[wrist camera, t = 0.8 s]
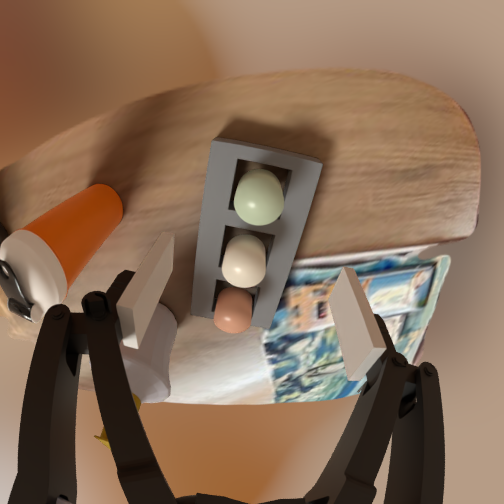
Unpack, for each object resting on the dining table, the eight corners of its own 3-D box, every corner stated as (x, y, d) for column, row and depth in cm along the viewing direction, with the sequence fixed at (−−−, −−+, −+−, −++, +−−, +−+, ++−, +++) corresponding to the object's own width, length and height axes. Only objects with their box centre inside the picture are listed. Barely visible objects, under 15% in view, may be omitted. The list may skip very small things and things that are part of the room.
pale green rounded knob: (234, 205, 30) (230, 220, 27) (241, 164, 28) (238, 174, 25) (275, 214, 31) (277, 229, 27) (286, 174, 28) (289, 184, 25)
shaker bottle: (125, 175, 32) (20, 256, 15) (133, 236, 36) (59, 340, 19) (74, 178, 32) (-27, 250, 15) (85, 233, 36) (6, 321, 19)
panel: (194, 301, 42) (190, 314, 39) (216, 136, 29) (211, 140, 27) (269, 315, 43) (269, 328, 40) (317, 158, 30) (323, 164, 28)
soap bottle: (130, 335, 48) (86, 445, 26) (113, 283, 41) (44, 408, 20) (192, 344, 48) (164, 469, 26) (184, 291, 41) (137, 443, 20)
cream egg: (223, 264, 35) (219, 283, 31) (229, 230, 32) (225, 247, 29) (260, 271, 35) (260, 290, 31) (269, 238, 32) (270, 256, 29)
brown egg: (215, 309, 39) (211, 329, 35) (220, 283, 36) (215, 303, 33) (248, 315, 39) (247, 335, 36) (255, 290, 37) (254, 310, 33)
